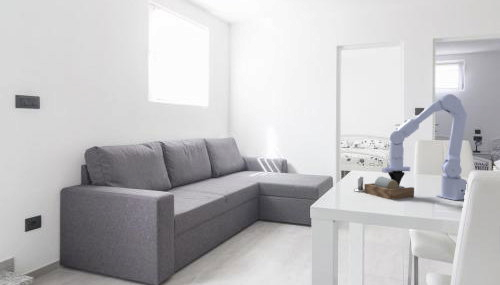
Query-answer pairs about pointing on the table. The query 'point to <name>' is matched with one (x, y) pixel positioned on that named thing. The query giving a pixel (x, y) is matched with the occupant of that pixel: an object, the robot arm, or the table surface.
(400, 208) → the table surface
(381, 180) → the ceramic mug
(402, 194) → the wooden tray
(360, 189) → the stand post
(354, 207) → the table surface
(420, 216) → the table surface
